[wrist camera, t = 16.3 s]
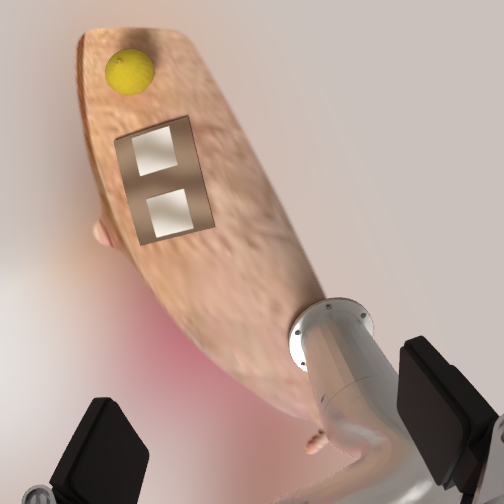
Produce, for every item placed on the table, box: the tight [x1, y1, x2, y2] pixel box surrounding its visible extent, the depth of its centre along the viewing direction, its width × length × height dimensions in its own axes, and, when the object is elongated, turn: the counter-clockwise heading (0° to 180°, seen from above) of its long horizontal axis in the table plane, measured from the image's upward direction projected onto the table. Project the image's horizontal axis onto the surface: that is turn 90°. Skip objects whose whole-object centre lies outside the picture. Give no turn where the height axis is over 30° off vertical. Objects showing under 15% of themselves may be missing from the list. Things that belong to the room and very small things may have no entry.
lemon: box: [105, 49, 154, 95], centre depth 28 cm, size 6×6×8 cm
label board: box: [114, 117, 215, 246], centre depth 36 cm, size 14×10×1 cm
